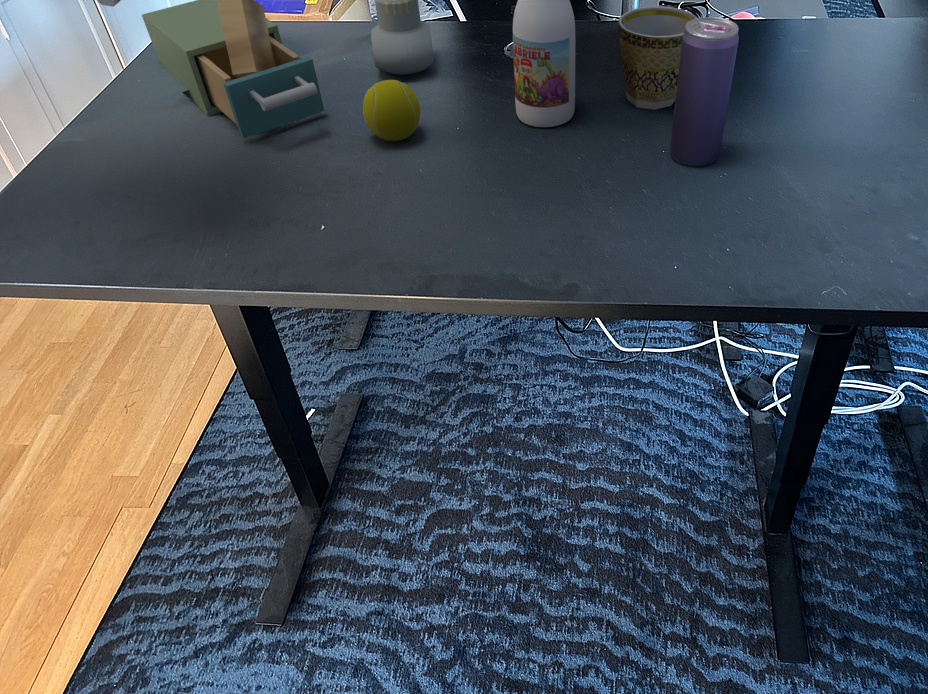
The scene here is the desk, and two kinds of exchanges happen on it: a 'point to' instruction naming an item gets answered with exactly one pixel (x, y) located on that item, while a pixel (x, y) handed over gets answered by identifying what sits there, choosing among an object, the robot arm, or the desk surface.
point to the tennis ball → (391, 110)
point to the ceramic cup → (652, 54)
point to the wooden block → (246, 36)
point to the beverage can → (703, 89)
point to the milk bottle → (544, 62)
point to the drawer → (262, 90)
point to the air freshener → (401, 38)
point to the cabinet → (190, 43)
